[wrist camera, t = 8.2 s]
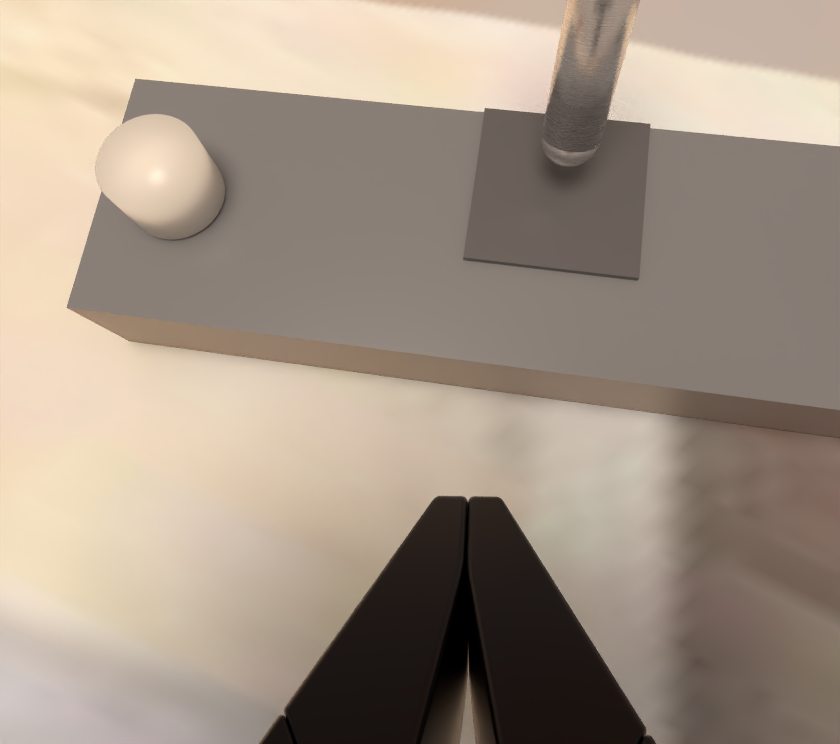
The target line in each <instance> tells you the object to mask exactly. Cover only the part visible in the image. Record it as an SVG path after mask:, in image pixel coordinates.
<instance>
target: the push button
mask: <svg viewBox="0 0 840 744" xmlns="http://www.w3.org/2000/svg"><path fill="white" fill-rule="evenodd" d="M95 173H96V179H97V182H98V185H99V187H100V189H101V190H102V192H103V193H104V194H105V196H106V197H108V198H109V199H110V200H111V201H112V202H113V203H114V204H115V205H116V206H117V207H118V208H120V209H121V210H122V211H123V212H124V213H125V214H126V215H127V216H128V217H129V218H130V219H132V220H133V221H134V222H135V223H136V224H137V225H138V226H139V227H140V228H141V229H142V230H144V231H145V232H146V233H148V234H150V235H152V236H154V237H157V238H161V239H168V240H174V239H182V238H186V237H189V236H192V235H194V234H196V233H198V232H200V231H201V230H203V229H204V228H206V227H207V226H208V225H209V224H210V223H211V222H212V221H213V220H214V219H215V217H216V216H217V215H218V213H219V211H220V209H221V207H222V205H223V202H224V197H225V183H224V179H223V176H222V174H221V172H220V170H219V169H218V167H217V166H216V164H215V163H214V161H213V160H212V158H211V157H210V155H209V154H208V152H207V151H206V149H205V148H204V146H203V145H202V143H201V142H200V141H199V139H198V138H197V136H196V135H195V133H194V132H193V130H192V129H191V128H190V127H189V126H188V125H187V124H185V123H184V122H182V121H181V120H179V119H177V118H175V117H172V116H168V115H163V114H148V115H143V116H139V117H136V118H133V119H131V120H128V121H126V122H125V123H123V124H121V125H120V126H119V127H117V128H116V129H115V130H114V131H113V132H111V133H110V135H109V136H108V137H107V138H106V139H105V141H104V142H103V144H102V146H101V148H100V150H99V152H98V155H97V159H96V165H95Z"/></svg>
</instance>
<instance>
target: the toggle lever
mask: <svg viewBox="0 0 840 744" xmlns="http://www.w3.org/2000/svg"><path fill="white" fill-rule="evenodd" d="M639 2H640V0H567V4H566V9H565V14H564V19H563V24H562V30H561V35H560V40H559V45H558V51H557V56H556V61H555V66H554V72H553V77H552V82H551V87H550V93H549V98H548V103H547V108H546V114H545V119H544V124H543V129H542V136H541V140H542V147H543V149H544V152H545V154H546V155H547V157H548V158H549V159H550V160H551V161H552V162H554V163H555V164H557V165H560V166H563V167H574V166H578V165H581V164H583V163H585V162H586V161H588V160H589V159H590V158H591V157H592V156H593V155H594V154H595V152H596V151H597V149H598V147H599V145H600V142H601V139H602V135H603V132H604V128H605V124H606V121H607V117H608V114H609V110H610V106H611V103H612V99H613V96H614V92H615V89H616V85H617V81H618V78H619V74H620V71H621V67H622V63H623V60H624V56H625V53H626V49H627V46H628V42H629V38H630V35H631V31H632V28H633V24H634V20H635V17H636V13H637V10H638V6H639Z"/></svg>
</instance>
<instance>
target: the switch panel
mask: <svg viewBox="0 0 840 744" xmlns="http://www.w3.org/2000/svg"><path fill="white" fill-rule="evenodd" d="M148 114H163V115H168V116H172V117H175V118H177V119H179V120H181V121H182V122H184V123H185V124H187V125H188V126H189V127H190V128H191V129H192V130H193V132H194V133H195V135H196V136H197V138H198V139H199V141H200V142H201V143H202V145H203V146H204V148H205V149H206V151H207V152H208V154H209V155H210V157H211V158H212V160H213V161H214V163H215V164H216V166H217V167H218V169H219V170H220V172H221V174H222V176H223V179H224V183H225V197H224V202H223V205H222V207H221V209H220V211H219V213H218V215H217V216H216V217H215V219H214V220H213V221H212V222H211V223H210V224H209V225H208V226H207V227H206V228H204V229H203V230H201V231H200V232H198V233H196V234H194V235H192V236H189V237H186V238H182V239H174V240H168V239H161V238H157V237H154V236H152V235H150V234H148V233H146V232H145V231H144V230H142V229H141V228H140V227H139V226H138V225H137V224H136V223H135V222H134V221H133V220H132V219H130V218H129V217H128V216H127V215H126V214H125V213H124V212H123V211H122V210H121V209H120V208H118V207H117V206H116V205H115V204H114V203H113V202H112V201H111V200H110V199H109V198H108V197H106V196H105V194H104V193H103V192H101V195H100V199H99V202H98V205H97V208H96V212H95V215H94V218H93V222H92V225H91V228H90V232H89V235H88V238H87V242H86V245H85V248H84V252H83V255H82V258H81V262H80V265H79V268H78V272H77V275H76V278H75V282H74V285H73V288H72V291H71V295H70V298H69V301H68V305H67V308H68V309H70V310H72V311H74V312H76V313H78V314H80V315H81V316H83V317H85V318H87V319H89V320H91V321H93V322H95V323H96V324H98V325H100V326H102V327H104V328H106V329H108V330H110V331H111V332H113V333H115V334H117V335H119V336H121V337H123V338H125V339H126V340H128V341H133V342H141V343H148V344H155V345H163V346H170V347H177V348H185V349H192V350H199V351H207V352H214V353H221V354H229V355H236V356H243V357H251V358H258V359H265V360H273V361H280V362H287V363H295V364H302V365H309V366H317V367H324V368H331V369H339V370H346V371H353V372H361V373H368V374H375V375H383V376H390V377H397V378H404V379H412V380H419V381H426V382H434V383H441V384H448V385H456V386H463V387H470V388H478V389H485V390H492V391H500V392H507V393H514V394H522V395H529V396H536V397H544V398H551V399H558V400H566V401H573V402H580V403H588V404H595V405H602V406H610V407H617V408H624V409H632V410H639V411H646V412H654V413H661V414H668V415H676V416H683V417H690V418H698V419H705V420H712V421H720V422H727V423H734V424H742V425H749V426H756V427H764V428H771V429H778V430H786V431H793V432H800V433H808V434H815V435H822V436H830V437H837V438H840V147H838V146H828V145H817V144H807V143H797V142H786V141H776V140H766V139H755V138H745V137H734V136H724V135H714V134H703V133H693V132H682V131H672V130H662V129H651V128H650V124H645V123H635V122H624V121H614V120H607V121H606V124H605V128H604V132H603V135H602V139H601V142H600V145H599V147H598V149H597V151H596V152H595V154H594V155H593V156H592V157H591V158H590V159H589V160H588V161H586V162H585V163H583V164H581V165H578V166H574V167H563V166H560V165H557V164H555V163H554V162H552V161H551V160H550V159H549V158H548V157H547V155H546V154H545V152H544V149H543V147H542V140H541V136H542V129H543V124H544V119H545V114H541V113H530V112H520V111H509V110H499V109H488V108H485V111H484V112H475V111H464V110H454V109H444V108H433V107H423V106H412V105H402V104H392V103H381V102H371V101H361V100H350V99H340V98H329V97H319V96H309V95H298V94H288V93H277V92H267V91H257V90H246V89H236V88H226V87H215V86H205V85H194V84H184V83H174V82H163V81H153V80H142V79H135V82H134V86H133V89H132V92H131V96H130V99H129V102H128V106H127V109H126V112H125V115H124V119H123V122H122V124H123V123H125V122H126V121H128V120H131V119H133V118H136V117H139V116H143V115H148Z"/></svg>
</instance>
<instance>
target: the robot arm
mask: <svg viewBox="0 0 840 744" xmlns="http://www.w3.org/2000/svg"><path fill="white" fill-rule="evenodd" d="M468 649H469V679H470V692H471V702H472V711H473V721H474V730H475V739H476V744H656V743H655V741H654V739H653V738H652V737H651V736H649V735H647V736H645V735H646V728H645V726H644V724H643V723H642V721H641V719H640V718H639V716H638V715H637V713H636V712H635V710H634V708H633V707H632V705H631V704H630V702H629V700H628V699H627V697H626V696H625V694H624V692H623V691H622V689H621V688H620V686H619V684H618V683H617V681H616V680H615V678H614V676H613V675H612V673H611V672H610V670H609V669H608V667H607V665H606V664H605V662H604V661H603V659H602V657H601V656H600V654H599V653H598V651H597V649H596V648H595V646H594V645H593V643H592V641H591V640H590V638H589V637H588V635H587V634H586V632H585V630H584V629H583V627H582V626H581V624H580V622H579V621H578V619H577V618H576V616H575V614H574V613H573V611H572V610H571V608H570V606H569V605H568V603H567V602H566V600H565V598H564V597H563V595H562V594H561V592H560V591H559V589H558V587H557V586H556V584H555V583H554V581H553V579H552V578H551V576H550V575H549V573H548V571H547V570H546V568H545V567H544V565H543V563H542V562H541V560H540V559H539V557H538V556H537V554H536V552H535V551H534V549H533V548H532V546H531V544H530V543H529V541H528V540H527V538H526V536H525V535H524V533H523V532H522V530H521V528H520V527H519V525H518V524H517V522H516V520H515V519H514V517H513V516H512V514H511V513H510V511H509V509H508V508H507V506H506V505H505V503H504V502H503V500H502V499H501V498H499V497H477V496H474V497H471V498H470V499H469V502H468V500H467V499H466V498H465V497H463V496H438V497H436V498H434V500H433V501H432V502H431V504H430V505H429V506H428V508H427V509H426V511H425V512H424V513H423V515H422V516H421V518H420V519H419V520H418V522H417V523H416V525H415V526H414V527H413V529H412V530H411V532H410V533H409V534H408V536H407V537H406V539H405V540H404V541H403V543H402V544H401V546H400V547H399V548H398V550H397V551H396V553H395V554H394V555H393V557H392V558H391V560H390V561H389V562H388V564H387V565H386V567H385V568H384V569H383V571H382V572H381V574H380V575H379V576H378V578H377V579H376V581H375V582H374V583H373V585H372V586H371V588H370V589H369V590H368V592H367V593H366V595H365V596H364V598H363V599H362V600H361V602H360V603H359V605H358V606H357V607H356V609H355V610H354V612H353V613H352V614H351V616H350V617H349V619H348V620H347V621H346V623H345V624H344V626H343V627H342V628H341V630H340V631H339V633H338V634H337V635H336V637H335V638H334V640H333V641H332V642H331V644H330V645H329V647H328V648H327V649H326V651H325V652H324V654H323V655H322V656H321V658H320V659H319V661H318V662H317V663H316V665H315V666H314V668H313V669H312V670H311V672H310V673H309V675H308V676H307V677H306V679H305V680H304V682H303V683H302V684H301V686H300V687H299V689H298V690H297V691H296V693H295V694H294V696H293V697H292V699H291V700H290V701H289V703H288V704H287V706H286V707H285V709H284V714H285V716H283V715H280V716H278V718H277V719H276V720H275V722H274V723H273V725H272V726H271V727H270V729H269V730H268V732H267V733H266V734H265V736H264V737H263V739H262V740H261V741H260V743H259V744H460V736H461V728H462V720H463V713H464V705H465V697H466V687H467V677H468Z"/></svg>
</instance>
